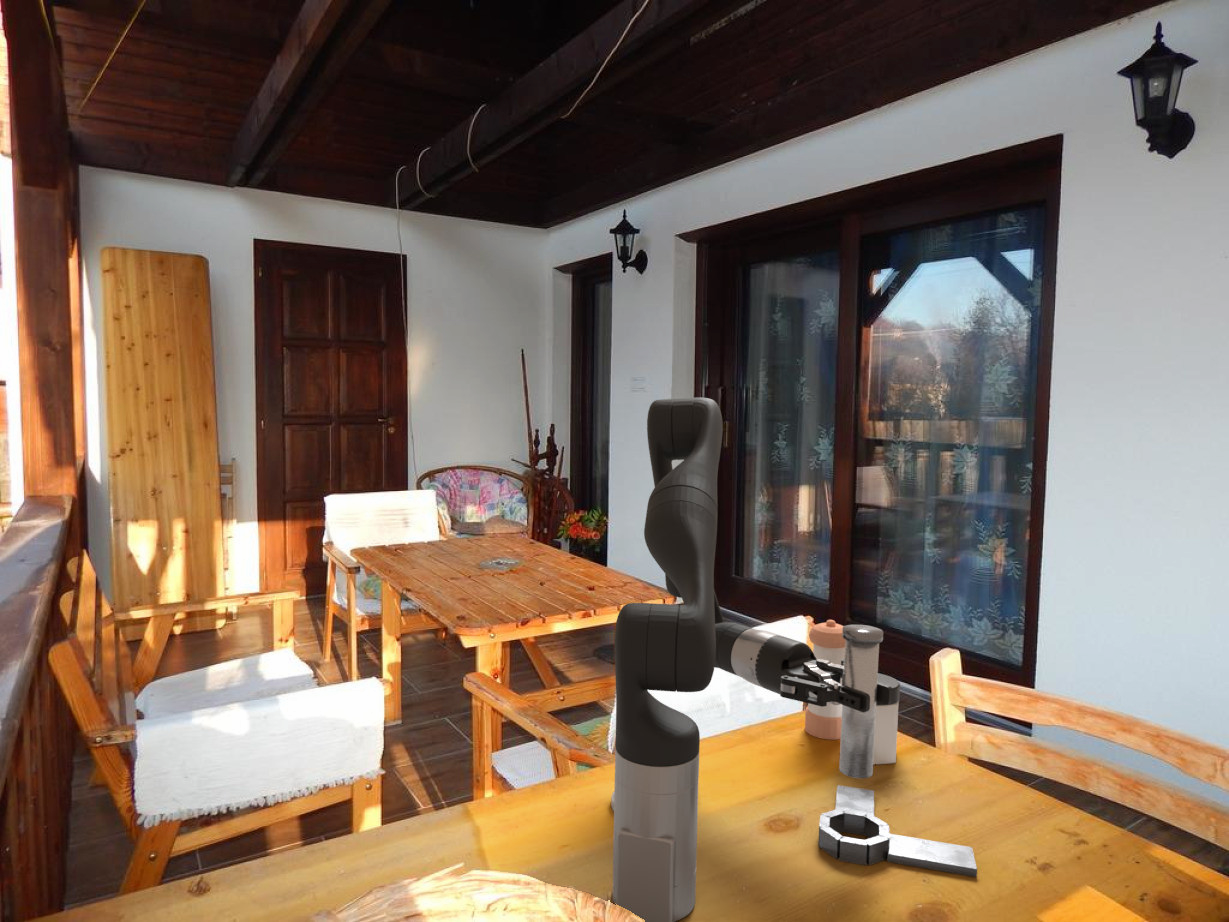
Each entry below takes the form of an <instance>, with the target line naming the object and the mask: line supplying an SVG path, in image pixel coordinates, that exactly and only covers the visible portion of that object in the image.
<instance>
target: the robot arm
mask: <svg viewBox="0 0 1229 922" xmlns="http://www.w3.org/2000/svg"><path fill="white" fill-rule="evenodd" d="M723 425H724V424H723V416H722V412H721V409H720V406H719V405H718V403H717V402H716V401H715V400H714V399H711V398H708V397H701V396H700V397H683V398H681V397H680V398H678V397H677V398H666V399H664V398H663V399H655V400H654V401H652V403H650V406H649V409H648V412H647V418H646V432H647V445H648V451H649V458H650V459H649V460H650V465H651V470H652V471H651V472H652V478H653V479H652V480H653V485H654V488H653V489H652V491H651V493H650V496H649V498H648V503H647V505H646V506H647V507H646V515H645V521H644V530H643V535H644V541H645V545H646V546H647V550H648V551H649V554H650V555H651V556H652V558H653V559H654V561H655V562H656V564H657V565H658V566H659V568H660V569H661V570H662V572H664V575H665V576H664V577H665V578H664V579H665V588H666V590H667V593H669V595H671V596H673V597H676V598H681V599H682V602H683V604H680V605H679V604H671V603H670V604H669V603H668V604H667V603H649V602H648V603H647V602H629V603H626V604H625V605H624V606H622V607H621V609H620V610H619V612H618V615H617V618H616V622H615V628H614V638H613V639H614V671H615V672H614V673H615V702H616V704H615V705H616V706H615V741H614V742H615V746H614V747H615V748H614V749H615V750H614V751H615V754H614V755H615V759H614V790H615V793H614V811H613V842H612V843H613V846H612V847H613V848H612V849H613V852H612V853H613V854H612V855H613V857H612V900H613V904H614V903H616V904H617V905H619V906H621V907H623V908H625V909H627V910H629V911H631V912H632V913H634V914H635V915H637V916H639V917H640V918H642V919H644V920H645V922H677V921H679V920H682V919H684V918H685V917H686V916H688V915H689V914H691V912H692V911H693V910H694V907H695V904H696V893H697V892H696V888H697V887H696V886H697V885H696V884H697V851H698V850H697V849H698V848H697V847H698V846H697V845H698V811H699V810H698V809H699V808H698V806H699V805H698V804H699V773H700V770H699V769H700V741H701V740H700V730H699V727H698V725H697V723H696V722H695V720H694V719H692V717H690V716H689V715H687V714H685V713H683V712H681V711H679V710H676V709H674V708H672V707H670V706H668V705H666V704H664V703H663V702H661V701H660V700H658V699H657V698H656V697H654V696H653V695H652V694H651V693H650V691H656V692H657V691H661V692H672V693H673V692H674V693H676V692H677V693H697V692H702V691H704V690H706V688H707V687H708V686H709V685H710V683H711V681H712V678H713V675H714V671H715V668H716V669H720V670H722V671H724V672H727V673H729V674H732V675H734V676H736V677H737V676H738V677H740V678H742V679H743V680H745V681H747V682H748V683H751V684H753V685H755V686H758V687H760V688H763V689H765V690H768V691H770V692H773V693H775V694H778V695H780V697H781V698H783V699H789V700H792V701H798V702H801V703H805V704H808V703H809V704H813V705H818V706H821V707H823V706H827V702H829V703H831V704H833V705H840V704H842V705H844V706H847V707H850V708H852V709H855V710H858V711H860V712H863V713H864V712H867V711H869V709H870V696H869V694H867V693H864V692H862V691H859V690H856V689H853V688H850V687H848V686H843V680H844V659H841V665H838V664H833V663H831V662H830V661H828V660H824V659H816V657H815V656H814V654H813V649H812V648H811V647H810V646H809V645H808V644H807V643H804V642H802V641H799V640H796V639H792V638H789V637H786V636H783V635H780V634H778V633H775V632H771V631H767V630H762V629H756V628H752V627H749V626H747V625H743V624H740V623H736V622H728V621H724V617H723V614H722V610H721V608H720V604H719V601H718V598H717V594H716V591H715V586H714V585H715V582H714V581H715V579H714V578H715V577H714V574H715V572H714V571H715V559H716V558H715V557H716V547H717V546H716V545H717V537H718V536H717V534H718V533H717V532H718V516H719V515H718V514H719V513H718V509H719V508H718V474H719V473H718V471H719V466H720V465H719V463H720V458H721V450H722V449H721V448H722V443H723V441H722V440H723V433H724V432H723ZM676 460H677V461H681V462H680V463H679V464H677V466H675V467H673V461H676ZM841 678H842V686H841V684H840V680H841ZM892 695H893V689H892V687H891V686H889V685H886V684H883V683H880V682H877V697H876V701H878V702H880V703H883V704H889V703H891V702H892ZM811 696H812V697H811Z"/></svg>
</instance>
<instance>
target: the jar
mask: <svg viewBox="0 0 1229 922" xmlns="http://www.w3.org/2000/svg"><path fill="white" fill-rule="evenodd" d="M877 682H880V683H883V684H886V685H889V686H891V687H892V689H893V695H892V702H891V703H889V704H883V703H880V702H878V701H876V717H875V736H874V756H873V766H875V764H876V765H886V764H887V765H889V764H890V765H891V764H896V762H897V746H898V745H897V742H898V720H899V702H900V697H901V696H900V693H901V692H900V690H901V683H900V681H899V680H897V679H896V678H894V677H893V676H890V675H888V674H882V673H878V677H877Z"/></svg>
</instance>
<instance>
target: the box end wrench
mask: <svg viewBox="0 0 1229 922" xmlns="http://www.w3.org/2000/svg"><path fill="white" fill-rule="evenodd" d="M835 798H836V799H835V809H832V810H829V811H826V812H822V813H821V814H820V816H819V824H818V843H817V845H818V847H819V848H820V849H821V850H822V851H824V852H825V853H827V854H828V855H830V856H831V857H833V858H834V859H835V860H839V861H840V862H844V863H845V862H846V863H850V864H856V865H861V866H862V865H863V866H871V865H874V864H877V863H880V862H883V861H887V863H893V864H897V865H898V864H900V865H905V866H910V867H911V866H912V867H914V868H915V867H916V868H922V869H928V870H933V871H938V872H945V873H950V874H956V875H962V876H967V877H974V878H977V877H978V876H977V875H978V867H977V864H976V863H977V862H976V859H975V858H976V857H975V854H974V850H973V847H972V846H967V845H962V844H955V843H948V842H942V841H936V840H930V839H926V838H925V839H924V838H917V837H912V836H906V835H900V834H893V833H890V825H889V824H888V823H887V822H885V821H883V820H882V819H881V818H879V817H877V816H875V791H874V790H872V789H867V788H866V789H865V788H859V787H852V786H845V785H840V784H837V787H836V797H835ZM843 832H844V833H851V834H856V835H862V836H865V837H866V838H867V839H860V838H855V837H849V836H843V835H842V834H841V833H843Z"/></svg>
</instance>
